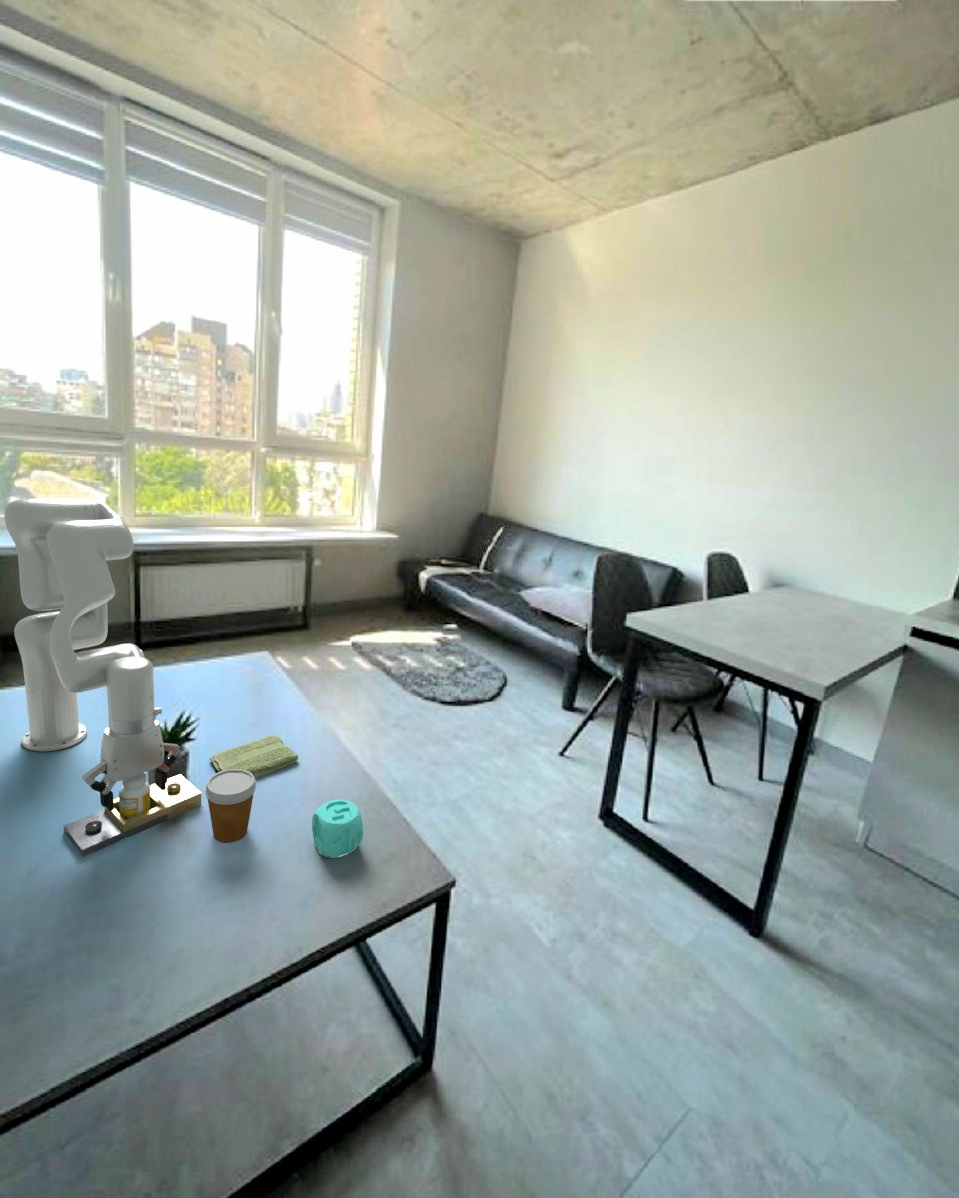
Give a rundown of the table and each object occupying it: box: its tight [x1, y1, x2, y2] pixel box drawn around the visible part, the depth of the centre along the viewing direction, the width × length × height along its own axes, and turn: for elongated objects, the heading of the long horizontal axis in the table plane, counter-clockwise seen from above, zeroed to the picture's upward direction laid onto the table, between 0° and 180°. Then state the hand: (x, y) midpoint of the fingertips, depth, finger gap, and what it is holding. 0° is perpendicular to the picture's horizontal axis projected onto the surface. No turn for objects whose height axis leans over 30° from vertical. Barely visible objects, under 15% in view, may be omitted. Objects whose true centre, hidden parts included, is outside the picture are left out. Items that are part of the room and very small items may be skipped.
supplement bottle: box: [118, 772, 151, 820], centre depth 114 cm, size 5×5×10 cm
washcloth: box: [209, 734, 299, 779], centre depth 138 cm, size 13×18×3 cm
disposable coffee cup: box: [203, 769, 258, 844], centre depth 113 cm, size 10×10×12 cm
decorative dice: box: [311, 799, 364, 859], centre depth 115 cm, size 8×8×8 cm
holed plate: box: [63, 773, 202, 858], centre depth 115 cm, size 9×22×4 cm, turn 143°
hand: (135, 796), depth 114 cm, fingers open, 9 cm apart
